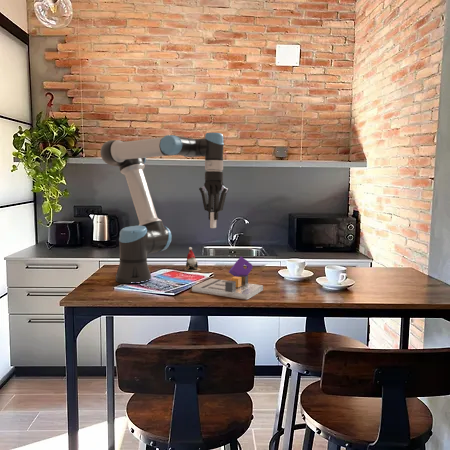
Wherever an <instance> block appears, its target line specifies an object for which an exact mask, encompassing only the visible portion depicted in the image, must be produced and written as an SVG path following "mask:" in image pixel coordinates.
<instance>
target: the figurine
mask: <svg viewBox="0 0 450 450" xmlns="http://www.w3.org/2000/svg"><path fill="white" fill-rule="evenodd" d="M185 266H186V268H188V269H187V270H184V271H186V272H200V271H201V270H202V269H201V268H199V267H198V266H199V261H198V259H197V258H196V256H195V253H194V251H193V247H191V246H189V247H188V253H187V256H186V263H185Z"/></svg>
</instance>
